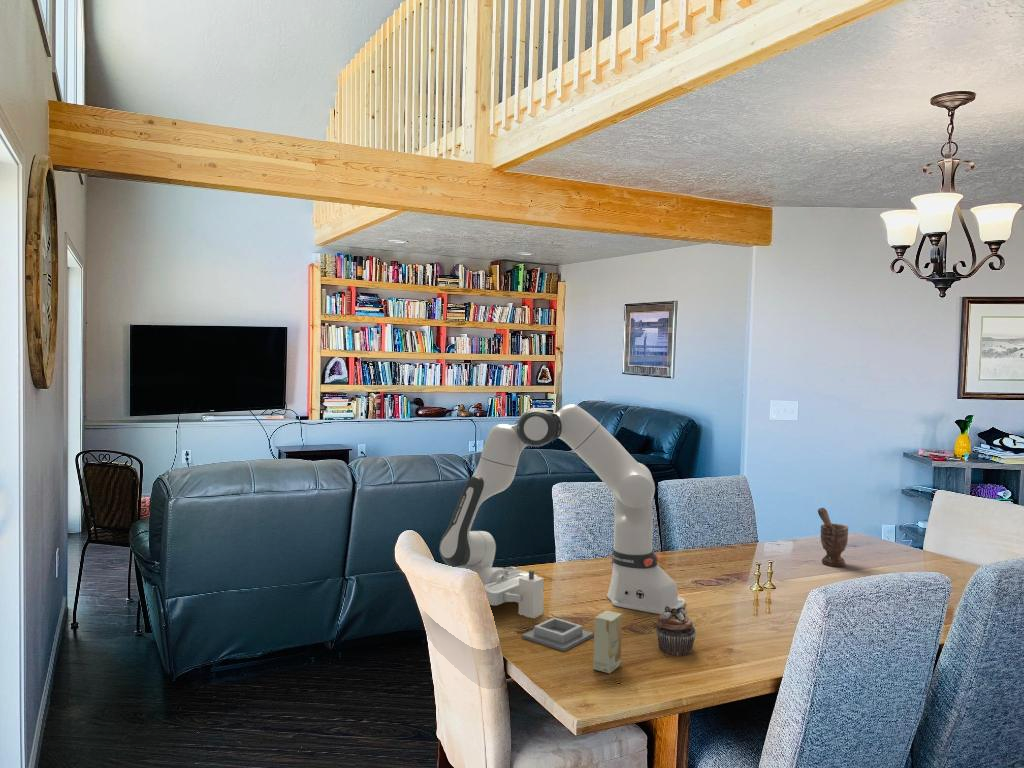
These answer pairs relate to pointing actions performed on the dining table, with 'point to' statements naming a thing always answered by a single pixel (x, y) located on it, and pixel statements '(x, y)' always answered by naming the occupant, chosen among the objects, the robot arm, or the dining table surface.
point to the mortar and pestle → (832, 540)
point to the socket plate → (558, 634)
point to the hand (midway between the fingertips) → (532, 594)
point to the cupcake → (675, 632)
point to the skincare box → (607, 641)
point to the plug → (531, 595)
